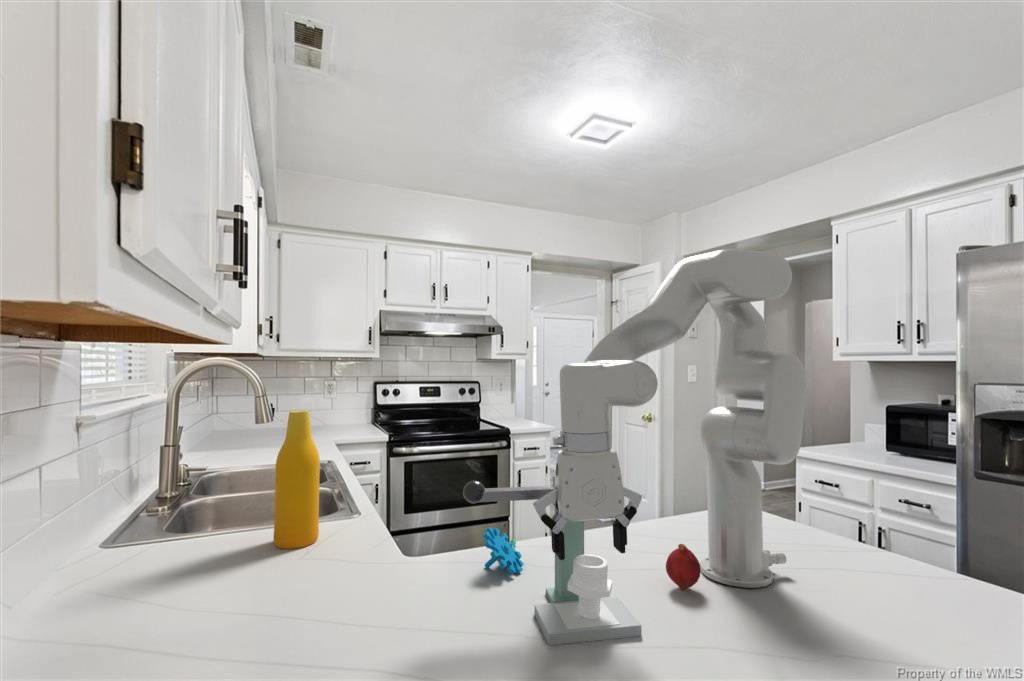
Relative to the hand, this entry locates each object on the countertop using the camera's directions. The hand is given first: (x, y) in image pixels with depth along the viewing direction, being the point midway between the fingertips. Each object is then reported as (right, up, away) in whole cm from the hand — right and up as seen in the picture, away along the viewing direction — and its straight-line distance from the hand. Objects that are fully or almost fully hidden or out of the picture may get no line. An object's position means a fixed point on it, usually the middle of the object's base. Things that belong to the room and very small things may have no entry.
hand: (589, 553), depth 77 cm
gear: (-14, -12, +20) cm, 27 cm away
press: (-1, -11, +1) cm, 11 cm away
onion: (+18, -11, +11) cm, 24 cm away
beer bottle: (-60, -12, +34) cm, 70 cm away
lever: (-10, +6, +7) cm, 14 cm away
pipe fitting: (0, -9, -1) cm, 9 cm away
